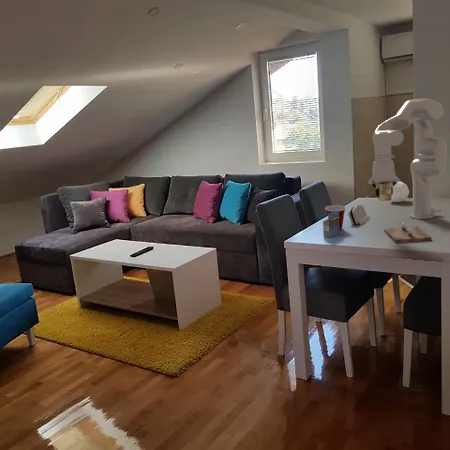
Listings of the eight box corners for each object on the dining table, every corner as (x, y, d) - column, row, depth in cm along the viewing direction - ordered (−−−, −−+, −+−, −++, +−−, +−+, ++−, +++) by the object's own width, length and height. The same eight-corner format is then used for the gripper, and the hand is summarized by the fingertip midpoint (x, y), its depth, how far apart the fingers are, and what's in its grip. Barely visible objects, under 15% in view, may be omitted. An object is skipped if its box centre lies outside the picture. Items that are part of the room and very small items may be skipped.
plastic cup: (332, 232, 254) (331, 210, 252) (322, 228, 265) (321, 207, 262) (351, 229, 257) (350, 207, 255) (340, 225, 267) (339, 204, 265)
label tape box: (333, 233, 254) (332, 209, 251) (340, 233, 251) (339, 210, 248) (323, 237, 248) (321, 213, 246) (330, 238, 245) (328, 214, 243)
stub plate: (417, 229, 245) (417, 219, 244) (431, 240, 224) (431, 229, 223) (384, 231, 247) (384, 221, 246) (395, 243, 226) (395, 232, 224)
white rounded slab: (360, 225, 264) (353, 208, 264) (352, 227, 267) (346, 210, 267) (370, 218, 277) (364, 201, 277) (362, 220, 280) (356, 204, 280)
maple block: (388, 197, 242) (387, 181, 240) (391, 200, 234) (390, 183, 232) (377, 198, 242) (376, 182, 240) (380, 201, 235) (380, 184, 233)
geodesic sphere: (409, 195, 300) (408, 175, 305) (385, 196, 305) (385, 177, 310) (409, 205, 312) (409, 186, 317) (386, 206, 317) (387, 187, 322)
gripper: (399, 156, 236) (400, 193, 240) (363, 159, 238) (365, 196, 242) (403, 157, 229) (404, 196, 233) (365, 161, 231) (367, 199, 235)
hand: (384, 195), depth 238 cm, fingers closed on maple block, 5 cm apart
